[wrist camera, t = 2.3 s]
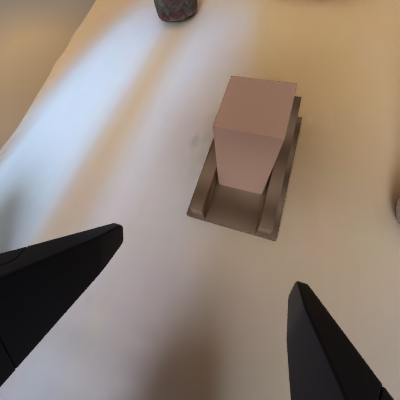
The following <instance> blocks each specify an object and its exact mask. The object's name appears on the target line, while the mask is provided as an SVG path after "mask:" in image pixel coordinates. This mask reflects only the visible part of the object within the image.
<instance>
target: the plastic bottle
mask: <svg viewBox="0 0 400 400" xmlns="http://www.w3.org/2000/svg"><path fill="white" fill-rule="evenodd" d="M396 216H397V219H398V222H399V223H400V197H399V198H398V201H397V205H396Z"/></svg>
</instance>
